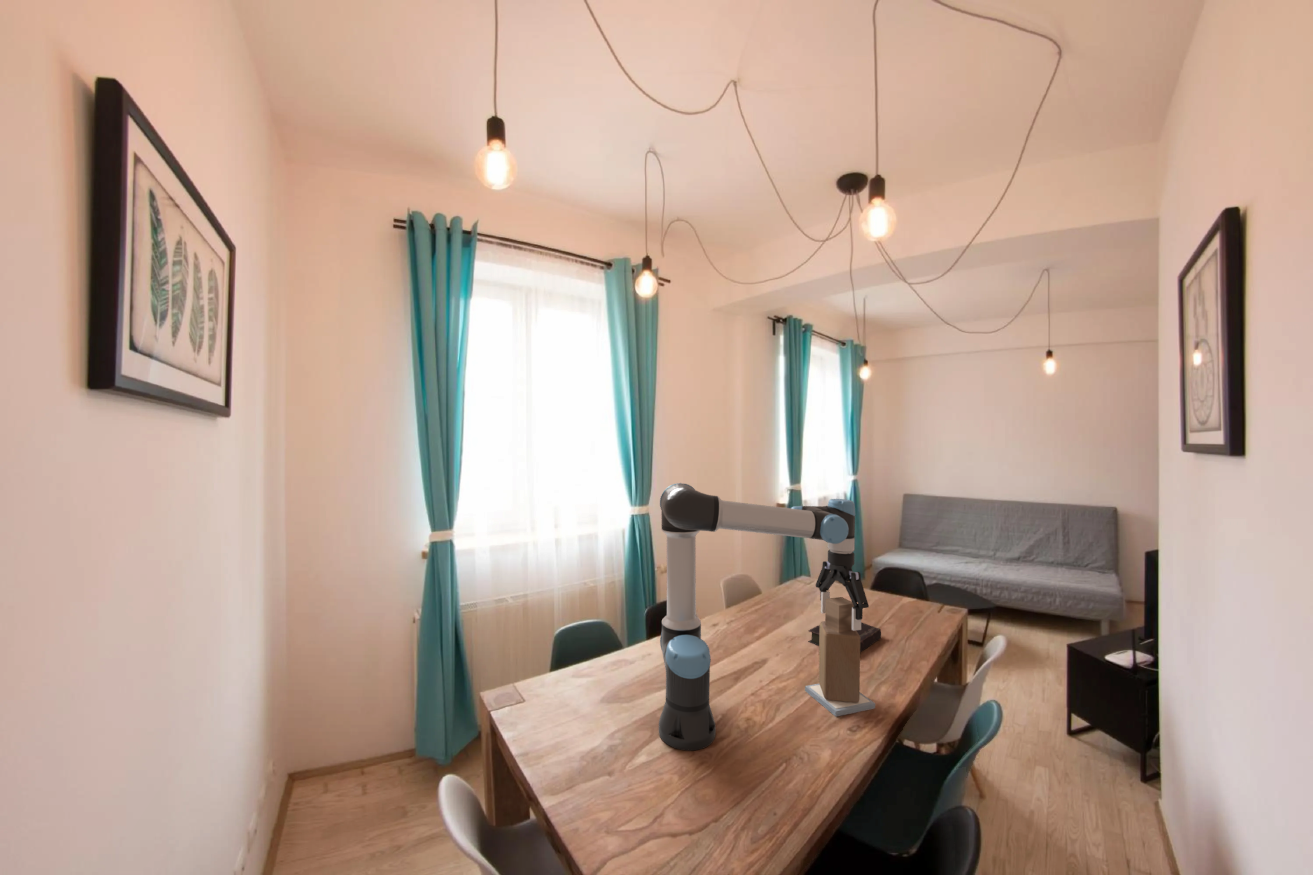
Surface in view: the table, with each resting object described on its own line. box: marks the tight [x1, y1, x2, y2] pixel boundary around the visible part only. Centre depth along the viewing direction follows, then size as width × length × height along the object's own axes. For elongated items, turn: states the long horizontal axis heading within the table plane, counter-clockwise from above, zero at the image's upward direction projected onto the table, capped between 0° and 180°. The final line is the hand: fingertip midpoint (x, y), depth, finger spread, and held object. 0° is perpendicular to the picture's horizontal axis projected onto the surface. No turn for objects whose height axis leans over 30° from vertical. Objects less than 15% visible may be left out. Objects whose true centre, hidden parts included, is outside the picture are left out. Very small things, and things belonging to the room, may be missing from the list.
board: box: [804, 683, 876, 718], centre depth 140 cm, size 14×14×2 cm
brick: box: [824, 596, 854, 633], centre depth 140 cm, size 6×6×8 cm
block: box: [818, 620, 861, 703], centre depth 140 cm, size 10×10×20 cm
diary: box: [807, 621, 882, 653], centre depth 181 cm, size 19×25×5 cm
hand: (840, 620), depth 140 cm, fingers open, 13 cm apart
